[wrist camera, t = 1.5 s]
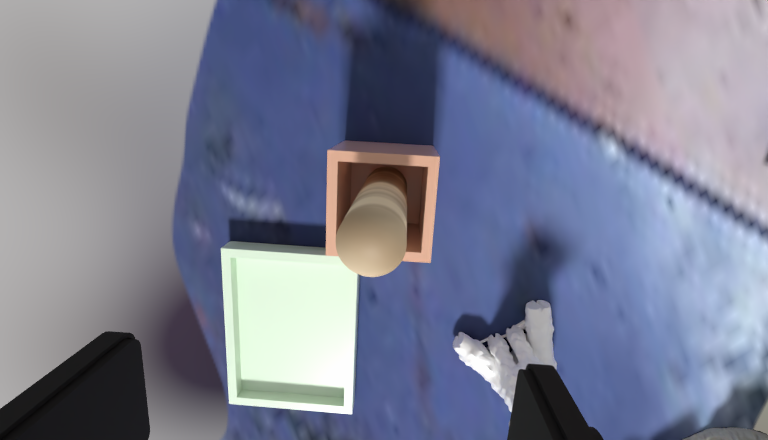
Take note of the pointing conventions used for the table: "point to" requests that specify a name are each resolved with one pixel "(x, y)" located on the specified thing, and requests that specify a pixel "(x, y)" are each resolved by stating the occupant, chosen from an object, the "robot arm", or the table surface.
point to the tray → (289, 327)
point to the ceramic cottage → (728, 434)
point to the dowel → (375, 225)
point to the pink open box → (354, 166)
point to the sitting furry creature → (526, 350)
